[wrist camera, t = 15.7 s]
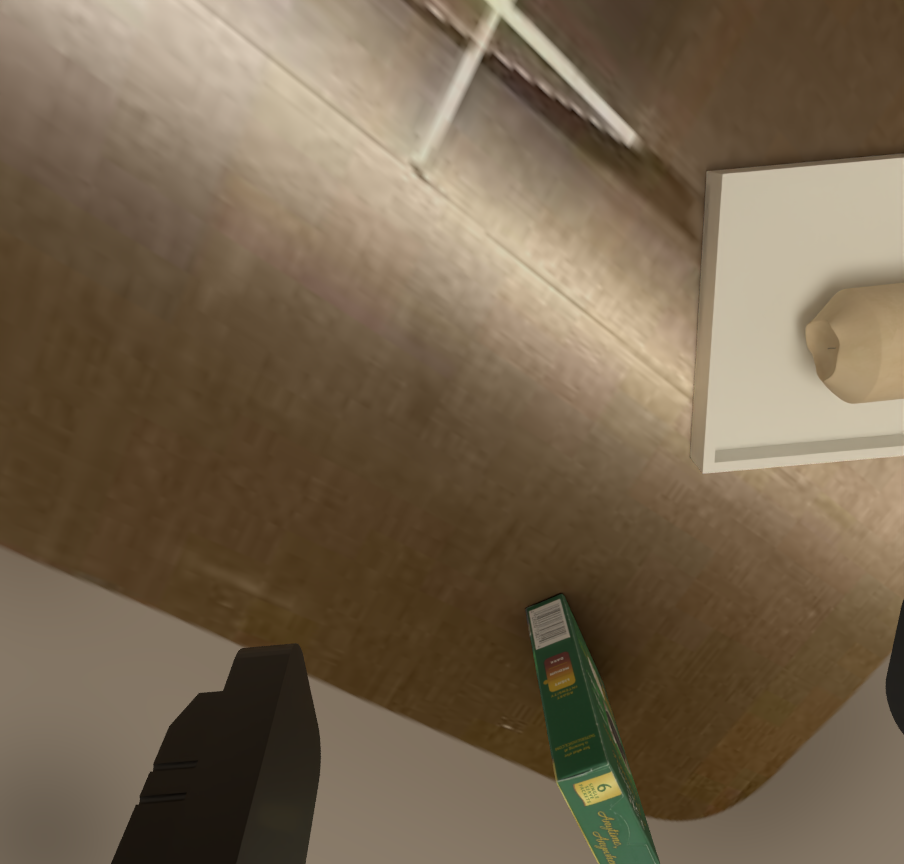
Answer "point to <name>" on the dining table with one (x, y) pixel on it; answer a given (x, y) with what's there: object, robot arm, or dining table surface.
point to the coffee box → (586, 740)
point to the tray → (789, 310)
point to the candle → (861, 343)
